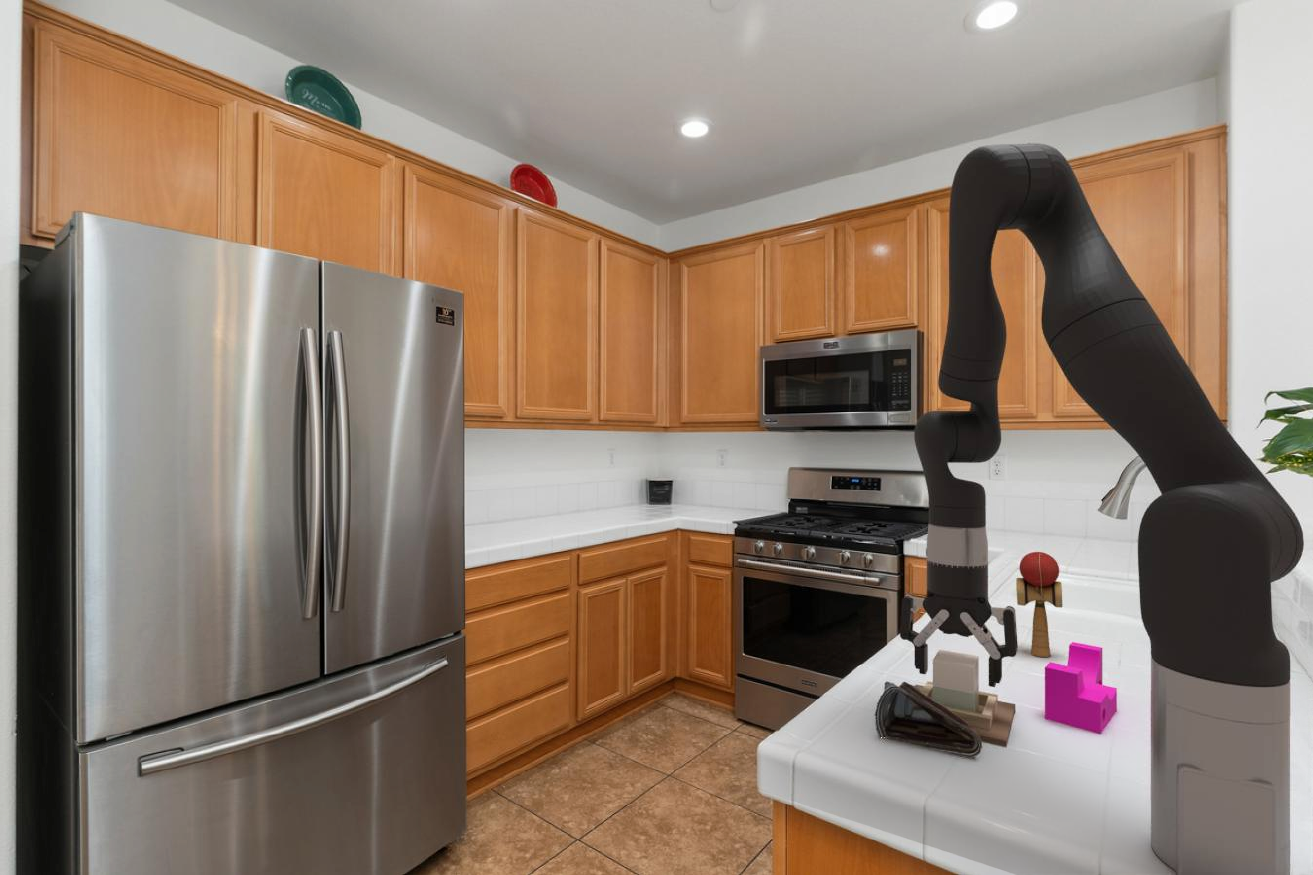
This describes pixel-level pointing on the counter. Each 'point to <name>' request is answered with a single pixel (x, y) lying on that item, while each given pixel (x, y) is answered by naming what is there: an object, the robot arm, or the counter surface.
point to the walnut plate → (985, 716)
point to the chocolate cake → (923, 722)
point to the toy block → (1079, 690)
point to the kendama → (1039, 595)
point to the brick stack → (956, 680)
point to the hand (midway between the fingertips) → (956, 678)
